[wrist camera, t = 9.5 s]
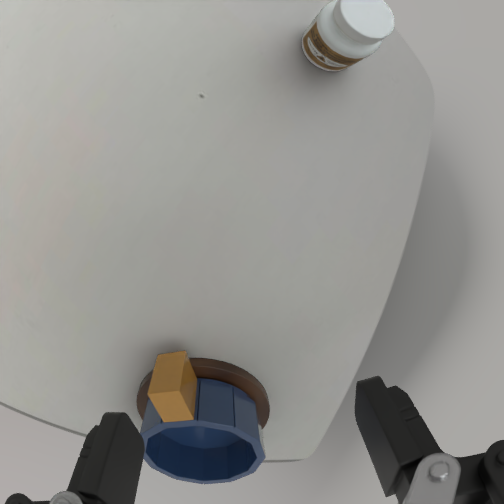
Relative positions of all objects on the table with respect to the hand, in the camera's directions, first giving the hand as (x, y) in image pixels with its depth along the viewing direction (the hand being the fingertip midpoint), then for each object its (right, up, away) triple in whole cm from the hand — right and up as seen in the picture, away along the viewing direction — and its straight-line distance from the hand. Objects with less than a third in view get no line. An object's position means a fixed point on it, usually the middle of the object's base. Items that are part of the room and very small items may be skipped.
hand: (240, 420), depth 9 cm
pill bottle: (+6, +21, +10) cm, 25 cm away
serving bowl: (-5, -10, +19) cm, 22 cm away
